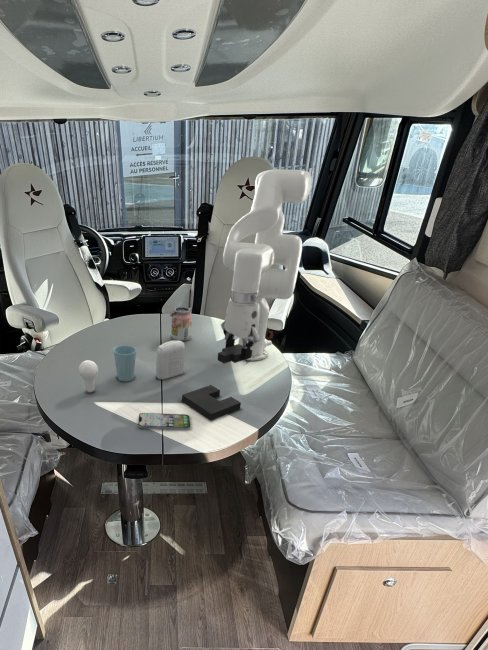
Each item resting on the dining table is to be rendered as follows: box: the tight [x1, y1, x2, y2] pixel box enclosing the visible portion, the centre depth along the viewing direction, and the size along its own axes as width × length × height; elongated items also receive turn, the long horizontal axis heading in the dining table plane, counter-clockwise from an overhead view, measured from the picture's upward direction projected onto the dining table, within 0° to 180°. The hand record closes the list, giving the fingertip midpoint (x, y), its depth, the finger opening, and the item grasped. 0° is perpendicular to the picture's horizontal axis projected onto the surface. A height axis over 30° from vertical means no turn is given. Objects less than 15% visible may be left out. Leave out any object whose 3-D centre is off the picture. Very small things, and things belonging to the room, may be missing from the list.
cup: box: [113, 344, 137, 382], centre depth 150 cm, size 8×8×10 cm
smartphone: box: [138, 412, 191, 431], centre depth 130 cm, size 7×1×15 cm
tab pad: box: [217, 343, 252, 364], centre depth 135 cm, size 10×6×2 cm, turn 124°
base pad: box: [181, 384, 242, 422], centre depth 138 cm, size 12×14×2 cm
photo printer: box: [155, 340, 186, 380], centre depth 151 cm, size 10×4×12 cm, turn 123°
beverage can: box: [169, 306, 193, 342], centre depth 179 cm, size 9×8×12 cm
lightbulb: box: [78, 359, 99, 393], centre depth 142 cm, size 6×6×11 cm
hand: (236, 355), depth 136 cm, fingers closed on tab pad, 6 cm apart
